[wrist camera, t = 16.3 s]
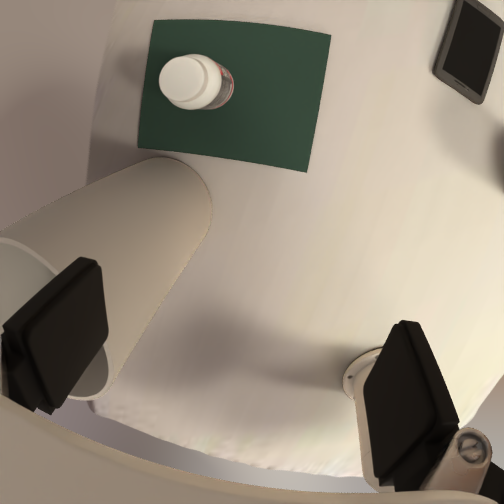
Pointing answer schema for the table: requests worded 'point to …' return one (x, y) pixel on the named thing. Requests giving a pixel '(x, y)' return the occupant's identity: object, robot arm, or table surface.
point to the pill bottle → (196, 82)
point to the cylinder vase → (111, 251)
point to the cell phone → (470, 49)
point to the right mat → (239, 92)
